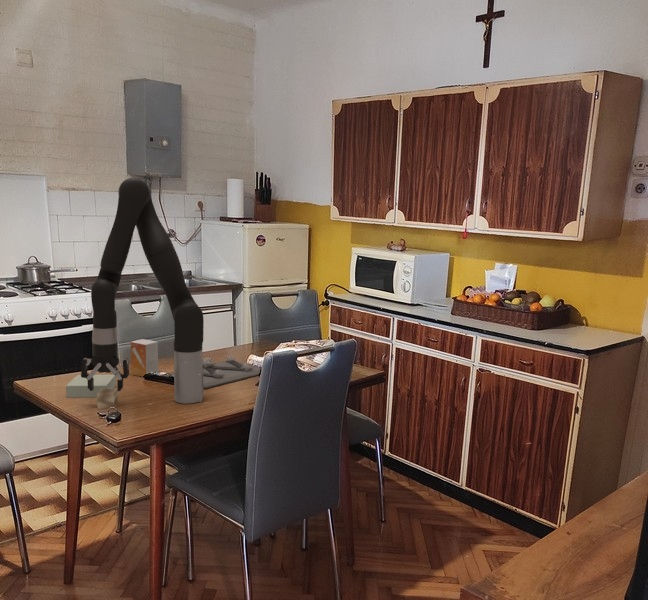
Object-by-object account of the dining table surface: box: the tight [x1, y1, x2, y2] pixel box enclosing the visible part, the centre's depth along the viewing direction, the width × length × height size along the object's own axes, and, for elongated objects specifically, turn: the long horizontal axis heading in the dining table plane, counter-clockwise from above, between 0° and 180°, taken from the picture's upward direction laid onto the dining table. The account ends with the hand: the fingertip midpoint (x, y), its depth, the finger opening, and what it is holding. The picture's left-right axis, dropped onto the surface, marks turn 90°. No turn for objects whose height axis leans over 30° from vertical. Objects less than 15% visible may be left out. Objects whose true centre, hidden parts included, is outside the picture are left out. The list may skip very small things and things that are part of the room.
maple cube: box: [96, 387, 119, 409], centre depth 186 cm, size 5×5×5 cm
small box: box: [130, 338, 159, 378], centre depth 221 cm, size 8×6×13 cm
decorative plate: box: [171, 354, 260, 390], centre depth 223 cm, size 30×22×7 cm
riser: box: [65, 374, 117, 398], centre depth 200 cm, size 13×13×4 cm
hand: (105, 390), depth 186 cm, fingers open, 8 cm apart
